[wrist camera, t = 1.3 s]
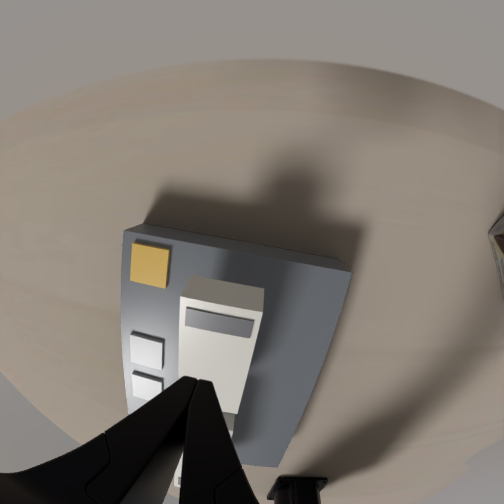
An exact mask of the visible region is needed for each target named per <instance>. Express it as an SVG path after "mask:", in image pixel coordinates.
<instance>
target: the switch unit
mask: <svg viewBox="0 0 504 504" xmlns="http://www.w3.org/2000/svg"><path fill="white" fill-rule="evenodd" d="M191 275H195V276H200V277H205V278H210V279H216V280H221V281H226V282H231V283H237V284H242V285H248V286H253V287H259V288H264V302H263V314H262V318H261V322H260V327H259V331H258V335H257V339H256V343H255V347H254V351H253V355H252V359H251V363H250V367H249V371H248V375H247V379H246V382H245V386H244V390H243V394H242V398H241V402H240V405H239V409H238V413H237V414H235V417H234V428H233V434H232V441H233V444H234V447H235V449H236V452H237V455H238V457H239V460H240V463H241V464H246V465H255V466H265V467H278V465H279V463H280V461H281V459H282V457H283V455H284V453H285V451H286V449H287V447H288V445H289V443H290V441H291V439H292V437H293V435H294V432H295V430H296V428H297V426H298V424H299V421H300V419H301V417H302V415H303V412H304V410H305V408H306V405H307V403H308V400H309V398H310V396H311V393H312V391H313V388H314V386H315V383H316V381H317V378H318V376H319V373H320V370H321V368H322V365H323V362H324V360H325V357H326V354H327V351H328V348H329V346H330V343H331V340H332V337H333V334H334V331H335V328H336V325H337V322H338V319H339V316H340V313H341V309H342V306H343V303H344V300H345V296H346V293H347V290H348V286H349V283H350V279H351V276H352V272H351V271H350V270H349V269H348V268H347V267H346V266H345V265H344V264H343V263H342V261H341V260H339V259H334V258H329V257H323V256H318V255H313V254H307V253H302V252H297V251H291V250H286V249H281V248H275V247H270V246H265V245H259V244H254V243H248V242H243V241H238V240H232V239H227V238H221V237H216V236H210V235H204V234H199V233H193V232H188V231H182V230H177V229H171V228H165V227H160V226H154V225H148V224H140V225H137V226H134V227H132V228H129V229H126V230H124V234H123V249H122V270H121V332H122V352H123V367H124V378H125V388H126V397H127V405H128V413H129V415H130V414H131V413H133V412H134V411H135V410H137V409H138V408H140V407H141V406H143V405H144V404H145V403H147V402H148V401H150V400H151V399H152V398H154V397H155V396H156V395H158V394H159V393H161V392H162V391H163V390H165V389H166V388H167V387H169V386H170V385H172V384H173V383H174V382H176V381H177V380H178V379H179V378H178V359H179V313H180V296H181V294H182V292H183V290H184V288H185V286H186V284H187V282H188V281H189V279H190V277H191ZM225 413H228V412H225ZM231 414H234V413H231Z"/></svg>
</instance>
